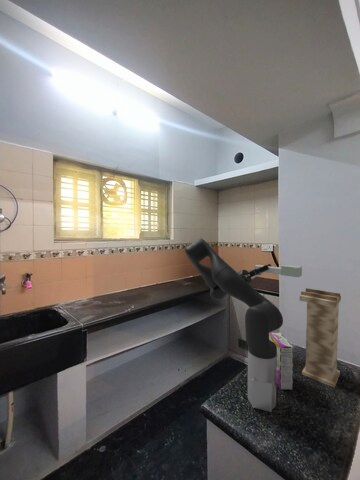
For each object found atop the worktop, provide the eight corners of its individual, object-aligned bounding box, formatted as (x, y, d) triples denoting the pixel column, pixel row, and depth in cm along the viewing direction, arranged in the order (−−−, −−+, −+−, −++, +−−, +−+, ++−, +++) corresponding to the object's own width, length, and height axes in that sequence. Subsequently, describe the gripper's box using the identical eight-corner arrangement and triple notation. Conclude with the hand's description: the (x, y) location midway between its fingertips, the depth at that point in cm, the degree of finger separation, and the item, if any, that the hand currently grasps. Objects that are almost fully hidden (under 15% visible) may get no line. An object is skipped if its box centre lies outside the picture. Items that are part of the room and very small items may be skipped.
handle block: (301, 275, 95) (302, 266, 95) (298, 277, 92) (298, 267, 91) (258, 269, 109) (258, 261, 108) (253, 271, 105) (253, 262, 105)
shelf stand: (339, 373, 90) (342, 292, 88) (334, 387, 82) (337, 299, 80) (305, 360, 98) (307, 287, 97) (297, 372, 90) (299, 292, 89)
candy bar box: (268, 370, 92) (268, 332, 91) (280, 370, 92) (280, 332, 91) (279, 390, 81) (280, 346, 80) (293, 390, 81) (294, 346, 80)
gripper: (229, 275, 109) (259, 260, 98) (243, 270, 119) (271, 257, 108) (236, 289, 107) (267, 276, 96) (249, 284, 117) (279, 271, 106)
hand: (269, 266), depth 102 cm, fingers closed on handle block, 3 cm apart
